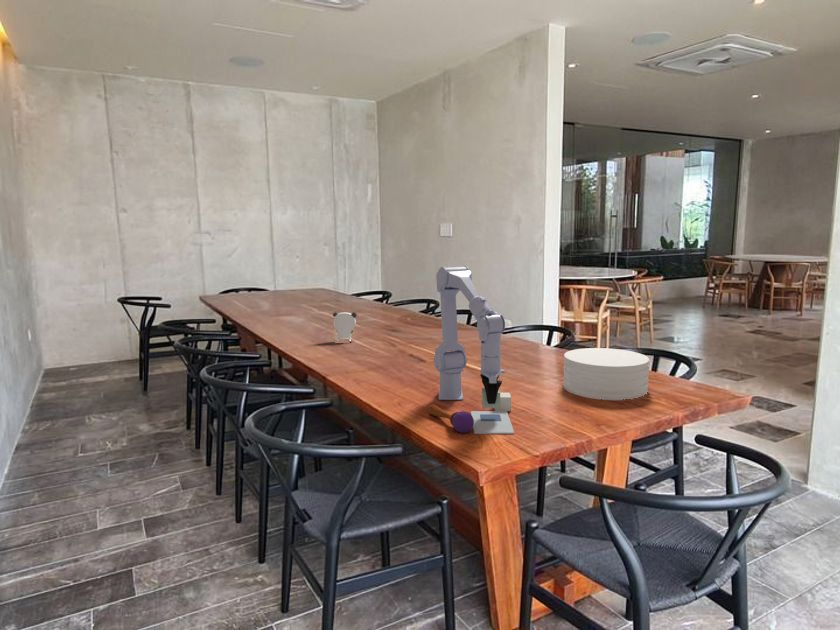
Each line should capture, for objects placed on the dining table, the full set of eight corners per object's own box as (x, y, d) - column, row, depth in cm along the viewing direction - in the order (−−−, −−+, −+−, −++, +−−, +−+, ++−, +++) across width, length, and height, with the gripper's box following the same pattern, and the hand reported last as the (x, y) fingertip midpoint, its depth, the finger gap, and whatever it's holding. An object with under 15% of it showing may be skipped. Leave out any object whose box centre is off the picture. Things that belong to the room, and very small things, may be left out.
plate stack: (547, 383, 202) (548, 352, 201) (609, 374, 212) (610, 345, 211) (598, 405, 177) (600, 370, 175) (666, 394, 187) (668, 361, 185)
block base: (481, 402, 166) (481, 388, 166) (498, 402, 166) (498, 388, 166) (482, 408, 162) (482, 393, 161) (500, 408, 161) (500, 393, 161)
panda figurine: (357, 339, 288) (357, 310, 285) (356, 343, 276) (355, 313, 274) (334, 339, 287) (333, 310, 285) (332, 344, 276) (331, 314, 274)
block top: (493, 406, 177) (493, 392, 176) (509, 406, 177) (509, 392, 176) (494, 411, 172) (495, 397, 171) (511, 411, 172) (511, 397, 171)
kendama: (441, 400, 171) (479, 413, 154) (439, 419, 171) (476, 435, 153) (424, 399, 168) (461, 413, 151) (422, 419, 168) (458, 435, 151)
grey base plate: (470, 412, 171) (470, 411, 171) (506, 412, 170) (506, 411, 170) (474, 433, 153) (474, 432, 153) (514, 433, 153) (514, 432, 152)
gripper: (507, 361, 154) (507, 408, 156) (502, 350, 169) (501, 393, 171) (482, 361, 155) (481, 408, 157) (478, 350, 169) (478, 393, 171)
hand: (490, 400), depth 164 cm, fingers closed on block base, 5 cm apart
